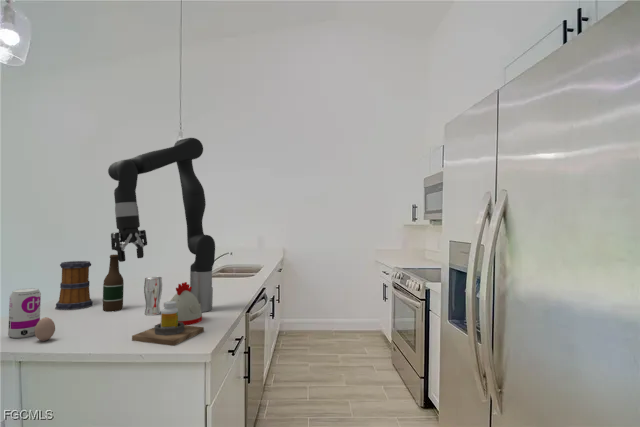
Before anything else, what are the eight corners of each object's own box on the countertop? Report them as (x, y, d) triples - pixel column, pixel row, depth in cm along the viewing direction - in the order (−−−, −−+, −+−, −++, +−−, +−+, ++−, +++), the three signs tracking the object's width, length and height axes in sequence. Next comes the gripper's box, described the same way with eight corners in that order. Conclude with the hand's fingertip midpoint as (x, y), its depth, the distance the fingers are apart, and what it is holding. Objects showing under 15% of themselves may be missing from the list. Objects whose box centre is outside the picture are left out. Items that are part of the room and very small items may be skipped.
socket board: (165, 327, 135) (166, 317, 135) (203, 331, 130) (203, 321, 130) (131, 340, 119) (132, 329, 119) (173, 345, 115) (173, 334, 115)
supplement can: (44, 333, 126) (46, 289, 126) (16, 340, 118) (18, 293, 119) (31, 330, 129) (32, 287, 129) (2, 336, 122) (4, 291, 122)
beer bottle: (113, 312, 156) (115, 255, 157) (98, 311, 158) (99, 255, 158) (127, 308, 164) (128, 254, 164) (111, 307, 165) (113, 253, 166)
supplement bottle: (179, 332, 124) (179, 303, 124) (162, 334, 121) (162, 304, 122) (176, 328, 129) (176, 300, 129) (159, 330, 126) (160, 301, 126)
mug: (65, 302, 175) (66, 259, 175) (100, 300, 179) (101, 259, 180) (49, 311, 156) (50, 264, 157) (88, 309, 161) (89, 263, 161)
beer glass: (139, 314, 153) (140, 278, 153) (152, 311, 159) (153, 276, 159) (152, 316, 150) (153, 279, 150) (165, 312, 156) (166, 277, 157)
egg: (49, 342, 116) (50, 319, 116) (30, 343, 115) (31, 319, 115) (58, 337, 121) (58, 315, 122) (39, 338, 120) (40, 315, 120)
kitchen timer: (156, 323, 140) (157, 283, 141) (181, 315, 153) (182, 279, 154) (185, 327, 135) (186, 286, 136) (209, 318, 148) (209, 281, 149)
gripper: (119, 215, 126) (124, 262, 126) (149, 213, 140) (154, 256, 140) (102, 217, 128) (107, 263, 128) (133, 215, 142) (138, 257, 142)
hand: (131, 259), depth 134 cm, fingers open, 8 cm apart
